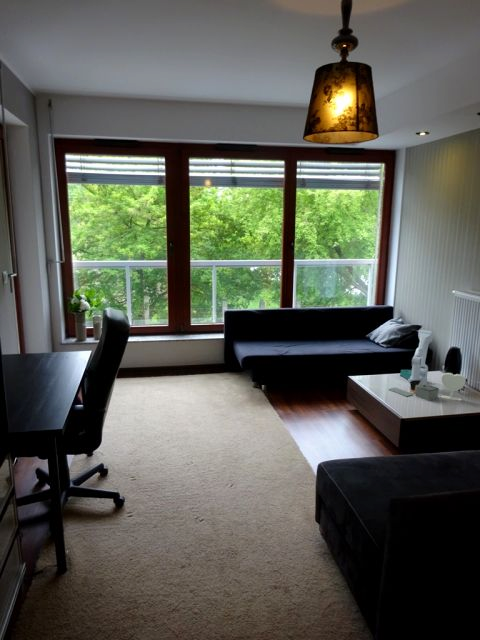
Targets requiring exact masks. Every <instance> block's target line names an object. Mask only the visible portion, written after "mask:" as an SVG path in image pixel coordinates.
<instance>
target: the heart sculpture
mask: <svg viewBox="0 0 480 640" xmlns="http://www.w3.org/2000/svg"><path fill="white" fill-rule="evenodd" d="M441 382H442V385H443V387H445V388H446V389H447V390H449V391H450V392H449V393H450V394H449V395H443V394H442V395H440V397H441V399H442V398H443V399H448V400H453V401H462V398H459V397H454V396H453V395H454V392H456V391H459V390H461V389H462V388H463V387H465V385H466V377H465V376H464V375H463V374H459V373H456V374H453V372H445V373H443V374H442V376H441Z"/></svg>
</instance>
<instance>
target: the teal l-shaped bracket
mask: <svg viewBox="0 0 480 640" xmlns="http://www.w3.org/2000/svg"><path fill="white" fill-rule="evenodd" d="M411 374H412V369H401V370H400V374H399V376H400V377H402V378H403V379H406V380H408V379H409V378H410V376H411ZM426 377H427V378H428V375H427V376H426Z"/></svg>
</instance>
